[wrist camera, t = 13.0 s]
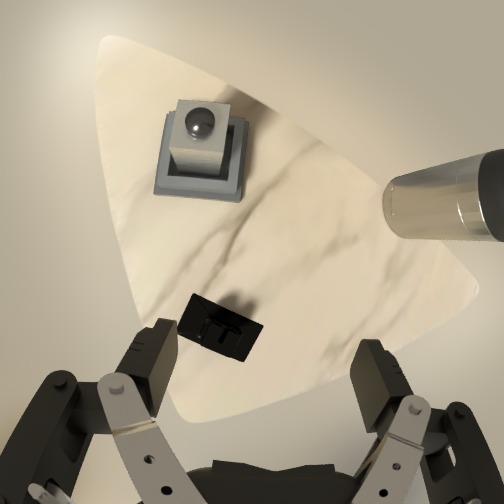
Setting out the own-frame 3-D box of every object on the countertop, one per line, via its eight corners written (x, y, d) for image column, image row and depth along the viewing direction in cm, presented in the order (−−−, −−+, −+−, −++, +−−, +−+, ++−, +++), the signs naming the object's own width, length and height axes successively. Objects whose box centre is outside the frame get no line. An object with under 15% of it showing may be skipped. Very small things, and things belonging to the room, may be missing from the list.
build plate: (275, 323, 36) (285, 335, 31) (249, 371, 36) (255, 387, 31) (185, 281, 34) (182, 287, 29) (161, 332, 34) (155, 345, 29)
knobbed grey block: (223, 140, 32) (231, 99, 21) (218, 177, 32) (224, 149, 22) (185, 136, 32) (177, 94, 21) (179, 173, 32) (167, 143, 21)
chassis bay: (247, 124, 34) (252, 113, 30) (239, 202, 34) (242, 199, 30) (167, 116, 32) (164, 105, 28) (154, 195, 32) (149, 190, 29)
